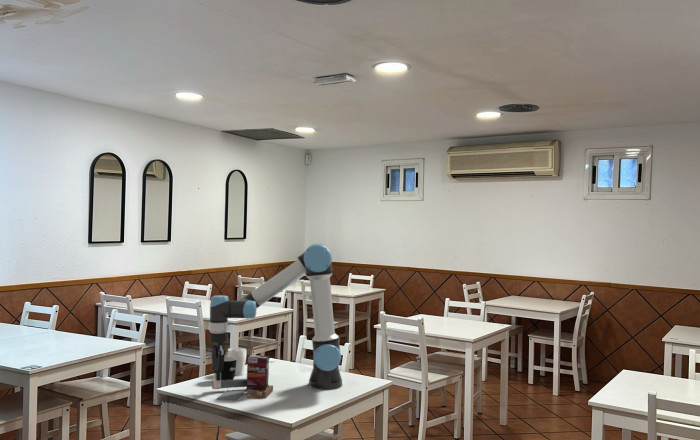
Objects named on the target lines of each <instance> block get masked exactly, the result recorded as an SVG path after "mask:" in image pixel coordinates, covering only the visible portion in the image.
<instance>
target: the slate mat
mask: <svg viewBox="0 0 700 440" xmlns="http://www.w3.org/2000/svg"><path fill="white" fill-rule="evenodd" d="M245 391H246V390H245ZM245 391H243V390H225V391H224V392H223V393H221V394H220V395H218V397H217V398H216V399H217V400H222V399H223V400H225V401H227V400H228V401H237V400H238V399H239V398H240V397H241V396H242V395H243V394H246V393H245Z"/></svg>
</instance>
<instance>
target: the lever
mask: <svg viewBox="0 0 700 440" xmlns="http://www.w3.org/2000/svg"><path fill="white" fill-rule="evenodd" d="M211 382H212V383H211V388H212V390H220V389H230V388H245V387H246V388H247V378H236V379H235V378H234V379H232V380H221V388H214V379H212V380H211Z"/></svg>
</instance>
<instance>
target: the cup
mask: <svg viewBox="0 0 700 440" xmlns="http://www.w3.org/2000/svg"><path fill="white" fill-rule="evenodd" d="M227 357H234V358H236V370H235V376H237V377H239V376H242V375H244V372H245V366H246V360H247V348H245V347H231V348H230V347H229V348H228V349H227ZM235 376H234V377H235Z"/></svg>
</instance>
